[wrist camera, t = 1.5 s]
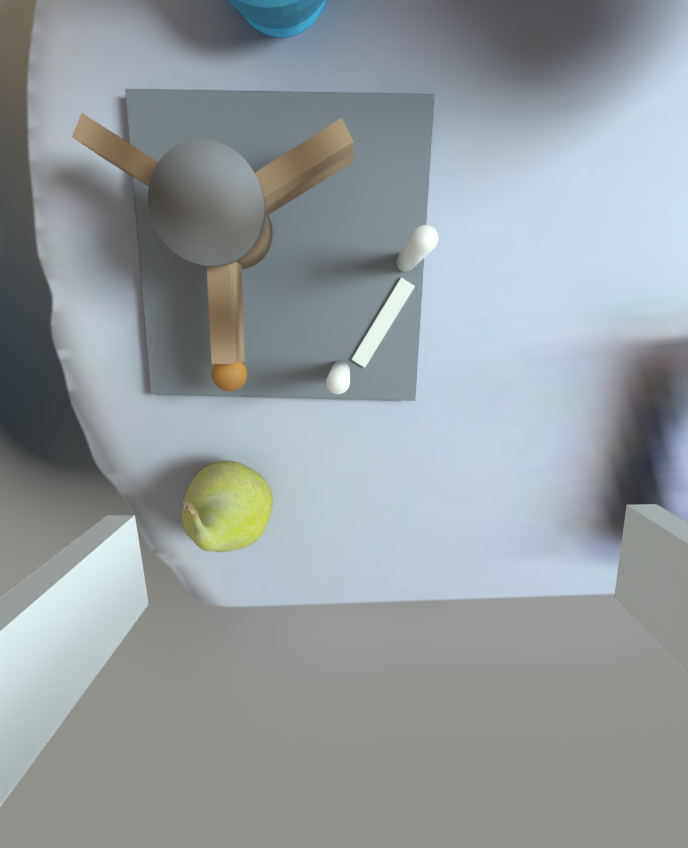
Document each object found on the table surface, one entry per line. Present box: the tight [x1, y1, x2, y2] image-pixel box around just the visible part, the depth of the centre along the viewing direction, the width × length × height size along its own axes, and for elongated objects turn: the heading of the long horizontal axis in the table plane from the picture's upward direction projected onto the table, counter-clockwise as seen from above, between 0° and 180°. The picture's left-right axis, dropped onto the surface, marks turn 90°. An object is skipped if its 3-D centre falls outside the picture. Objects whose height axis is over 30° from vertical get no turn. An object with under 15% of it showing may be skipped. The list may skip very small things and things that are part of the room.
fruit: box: [182, 461, 272, 552], centre depth 30 cm, size 7×8×12 cm
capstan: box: [72, 113, 354, 392], centre depth 27 cm, size 16×16×7 cm
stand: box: [125, 89, 438, 401], centre depth 27 cm, size 21×21×9 cm
